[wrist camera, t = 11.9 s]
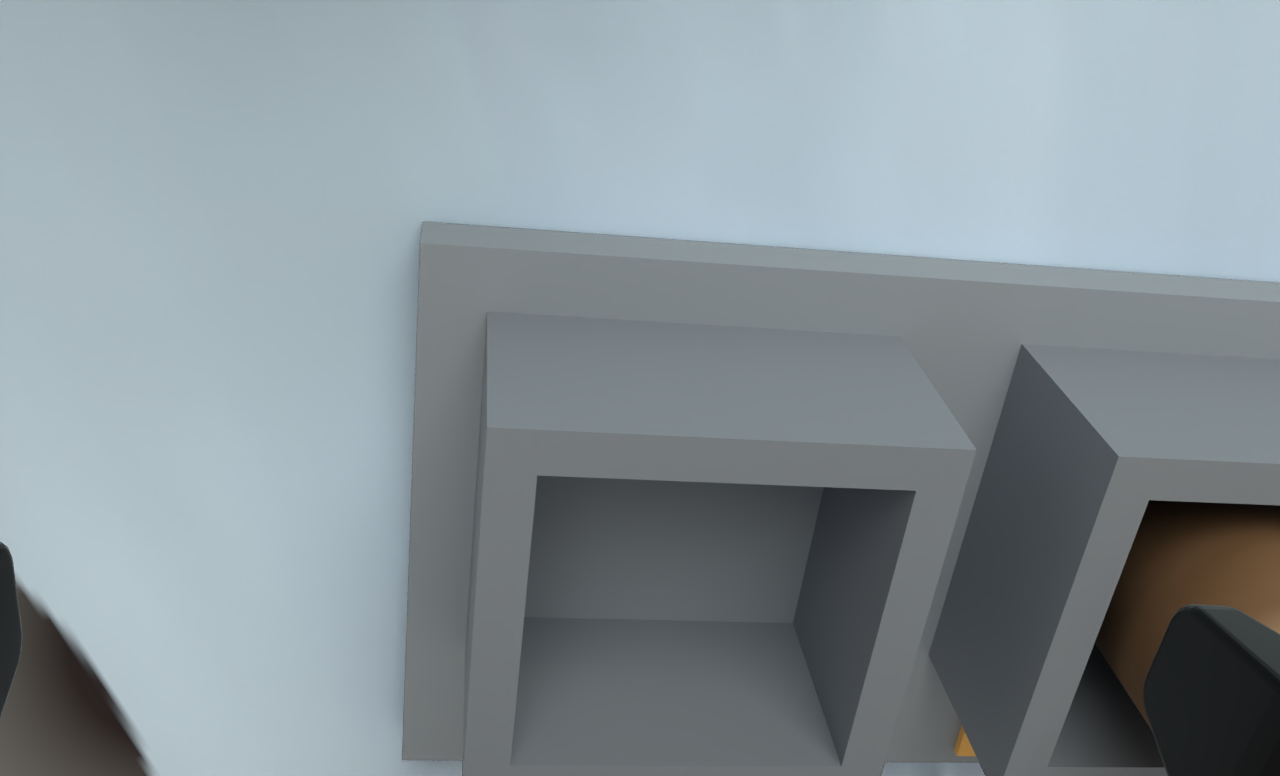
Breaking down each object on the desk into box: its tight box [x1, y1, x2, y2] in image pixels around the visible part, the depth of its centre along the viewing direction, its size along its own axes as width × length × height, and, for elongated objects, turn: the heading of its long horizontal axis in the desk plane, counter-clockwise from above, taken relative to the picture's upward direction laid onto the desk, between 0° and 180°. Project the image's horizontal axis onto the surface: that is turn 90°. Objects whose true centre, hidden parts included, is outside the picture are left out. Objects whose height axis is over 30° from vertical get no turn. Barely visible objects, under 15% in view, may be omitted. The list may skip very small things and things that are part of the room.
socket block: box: [402, 222, 1280, 776], centre depth 24 cm, size 22×12×5 cm, turn 83°
